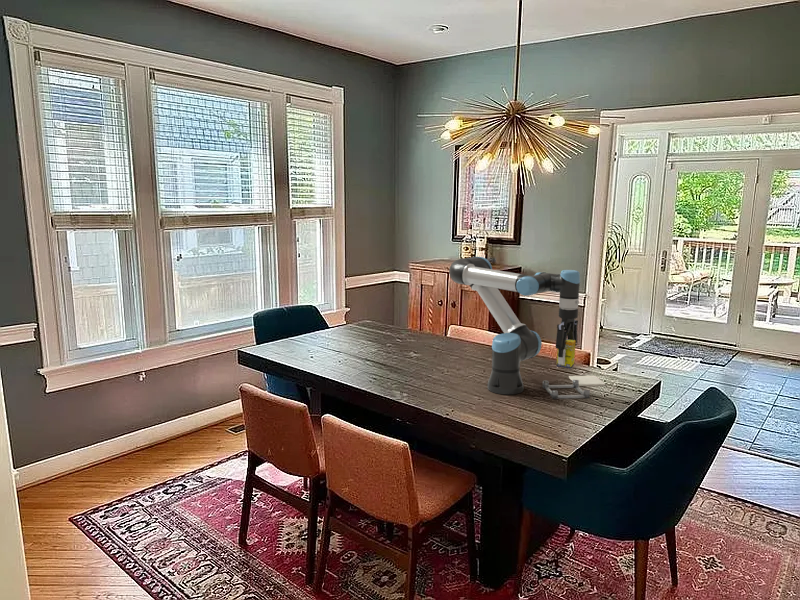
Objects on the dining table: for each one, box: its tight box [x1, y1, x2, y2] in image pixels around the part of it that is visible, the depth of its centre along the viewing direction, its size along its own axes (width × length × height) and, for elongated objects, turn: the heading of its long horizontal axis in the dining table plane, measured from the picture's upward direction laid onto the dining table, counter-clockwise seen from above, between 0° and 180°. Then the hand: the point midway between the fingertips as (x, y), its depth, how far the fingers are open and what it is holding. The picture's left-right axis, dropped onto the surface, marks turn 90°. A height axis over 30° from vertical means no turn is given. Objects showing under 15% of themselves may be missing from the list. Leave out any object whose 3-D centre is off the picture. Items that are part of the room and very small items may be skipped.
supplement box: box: [556, 338, 577, 369], centre depth 227 cm, size 6×6×11 cm
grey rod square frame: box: [542, 379, 591, 400], centre depth 229 cm, size 15×15×3 cm
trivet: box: [568, 375, 606, 387], centre depth 243 cm, size 12×12×1 cm
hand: (565, 362), depth 227 cm, fingers closed on supplement box, 7 cm apart
